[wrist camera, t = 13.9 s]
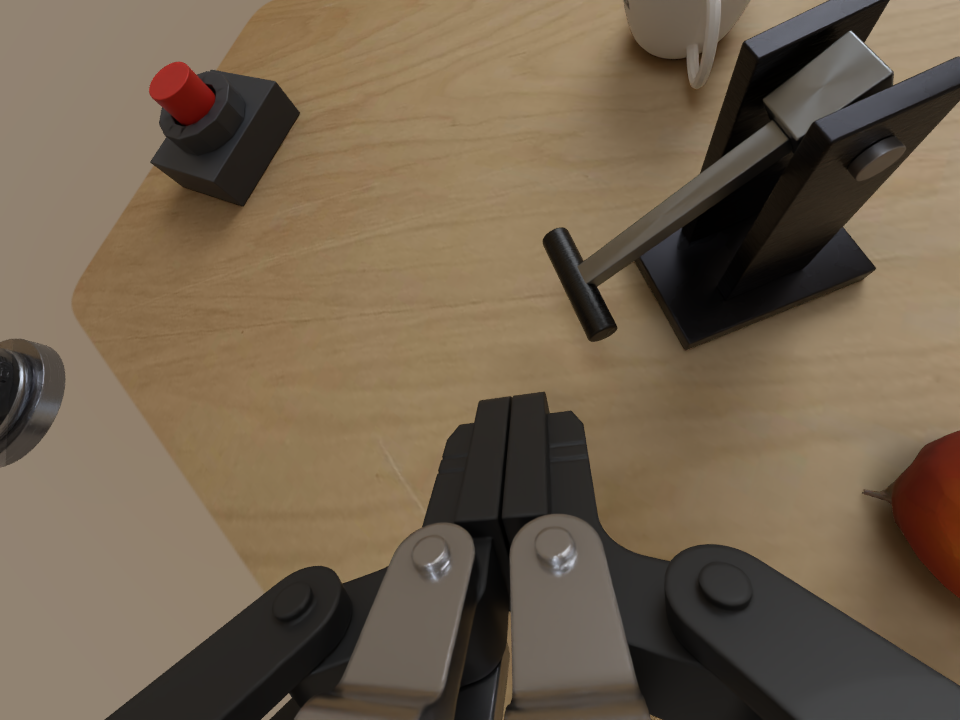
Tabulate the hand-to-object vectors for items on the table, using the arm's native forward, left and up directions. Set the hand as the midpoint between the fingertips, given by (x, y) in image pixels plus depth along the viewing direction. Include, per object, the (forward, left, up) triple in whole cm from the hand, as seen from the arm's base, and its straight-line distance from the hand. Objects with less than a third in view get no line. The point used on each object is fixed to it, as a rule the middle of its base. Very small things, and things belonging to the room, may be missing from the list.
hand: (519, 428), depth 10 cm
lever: (+10, +8, -8) cm, 15 cm away
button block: (-16, +36, -16) cm, 42 cm away
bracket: (+14, +8, -16) cm, 22 cm away
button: (-16, +36, -11) cm, 41 cm away
